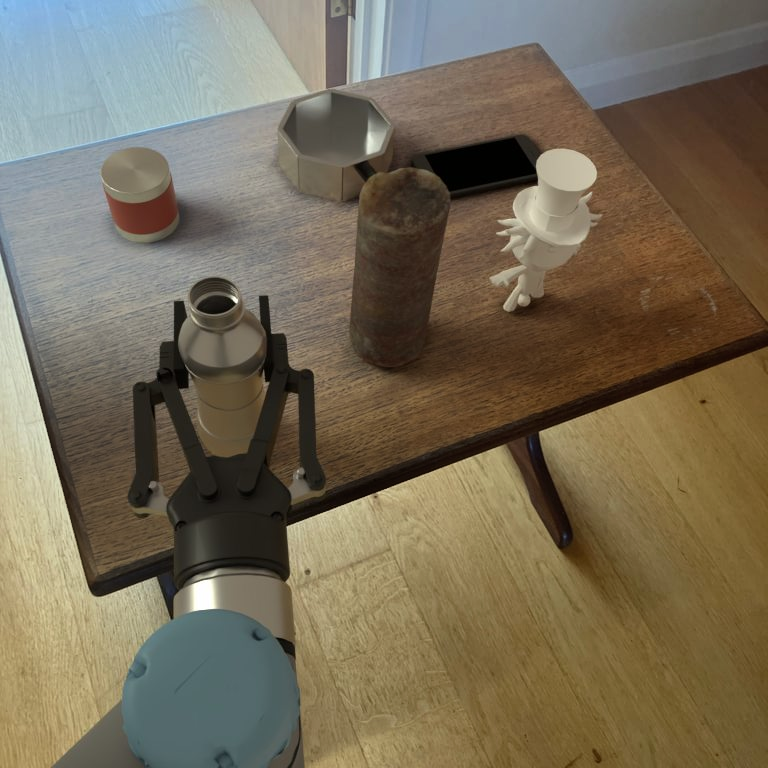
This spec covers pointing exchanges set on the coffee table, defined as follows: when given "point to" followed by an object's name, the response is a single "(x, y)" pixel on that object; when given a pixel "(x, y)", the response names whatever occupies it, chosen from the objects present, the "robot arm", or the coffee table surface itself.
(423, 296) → the candle
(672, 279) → the coffee table surface
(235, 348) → the metal bottle
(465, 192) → the smartphone
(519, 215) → the figurine
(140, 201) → the tin can
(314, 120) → the saucepan
